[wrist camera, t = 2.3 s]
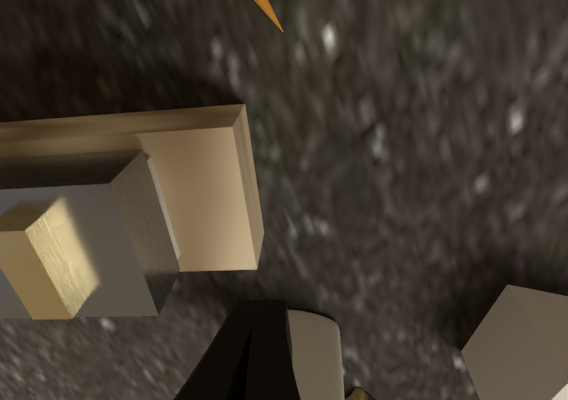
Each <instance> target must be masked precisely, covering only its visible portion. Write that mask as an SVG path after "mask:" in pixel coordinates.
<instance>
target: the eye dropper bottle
mask: <svg viewBox="0 0 568 400" xmlns="http://www.w3.org/2000/svg"><path fill="white" fill-rule="evenodd" d="M288 318H289V326H290V334H291V342H292V363H293V371H294V375H295V380H296V384H297V387H298V391H299V395H300V399H301V400H345V399H344V385H343V371H342V358H341V344H340V332H339V328H338V325H337V324H336V323H335V322H334V321H333V320H331V319H329V318H326V317H324V316H321V315H318V314H314V313H310V312H305V311H299V310H288Z"/></svg>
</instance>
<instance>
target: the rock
mask: <svg viewBox="0 0 568 400" xmlns="http://www.w3.org/2000/svg"><path fill="white" fill-rule="evenodd" d="M345 400H375V399H374V398H373V397H371V396H370V395H369V394H367V393H365V392H364V390H363V389H362V388H355V389H354V390H353V392H352V394H351V395H350V396H349V397H347V398H345Z"/></svg>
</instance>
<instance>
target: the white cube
mask: <svg viewBox="0 0 568 400" xmlns="http://www.w3.org/2000/svg"><path fill="white" fill-rule="evenodd" d="M461 353H462V355H463V358H464V360H465V363H466V365H467V368H468V370H469V373H470V375H471V378H472V380H473V383H474V386H475V388H476V391H477V393H478V396H479V398H480V400H568V296H563V295H558V294H553V293H548V292H543V291H538V290H533V289H528V288H523V287H518V286H513V285H508V284H507V286H506V287H505V289H504V290H503V292H502V293H501V294H500V296H499V297H498V299H497V300H496V302H495V303H494V305H493V306H492V307H491V309H490V310H489V312H488V313H487V315H486V316H485V318H484V319H483V320H482V322H481V323H480V325H479V326H478V328H477V329H476V331H475V332H474V333H473V335H472V336H471V338H470V339H469V341H468V342H467V344H466V345H465V346H464V348H463V349H462V351H461Z"/></svg>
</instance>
